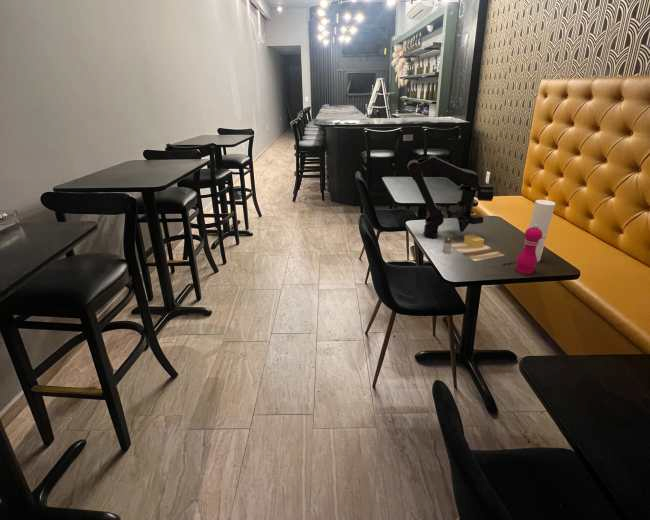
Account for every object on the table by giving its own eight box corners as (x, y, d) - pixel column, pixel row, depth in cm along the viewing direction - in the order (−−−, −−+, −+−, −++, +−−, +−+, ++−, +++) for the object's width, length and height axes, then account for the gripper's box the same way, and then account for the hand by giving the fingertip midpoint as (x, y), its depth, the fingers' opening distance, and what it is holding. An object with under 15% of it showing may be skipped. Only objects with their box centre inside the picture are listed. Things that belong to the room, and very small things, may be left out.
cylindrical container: (538, 256, 169) (553, 200, 158) (541, 262, 163) (556, 205, 152) (520, 253, 171) (534, 199, 160) (522, 260, 165) (536, 204, 154)
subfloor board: (447, 247, 177) (447, 244, 176) (475, 242, 182) (475, 239, 181) (473, 264, 162) (474, 261, 161) (503, 258, 167) (504, 255, 166)
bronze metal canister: (440, 253, 171) (443, 237, 167) (446, 252, 172) (449, 236, 168) (445, 256, 168) (447, 239, 165) (451, 255, 169) (454, 238, 166)
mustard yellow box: (463, 242, 178) (464, 235, 177) (472, 241, 180) (473, 234, 178) (473, 248, 172) (475, 241, 171) (482, 246, 174) (484, 239, 173)
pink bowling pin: (536, 275, 153) (549, 228, 144) (516, 274, 154) (528, 226, 145) (531, 267, 159) (543, 221, 150) (512, 266, 160) (523, 220, 151)
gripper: (439, 195, 180) (435, 227, 187) (466, 207, 165) (460, 241, 172) (459, 193, 184) (454, 224, 191) (487, 204, 168) (480, 238, 175)
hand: (461, 231), depth 182 cm, fingers closed
